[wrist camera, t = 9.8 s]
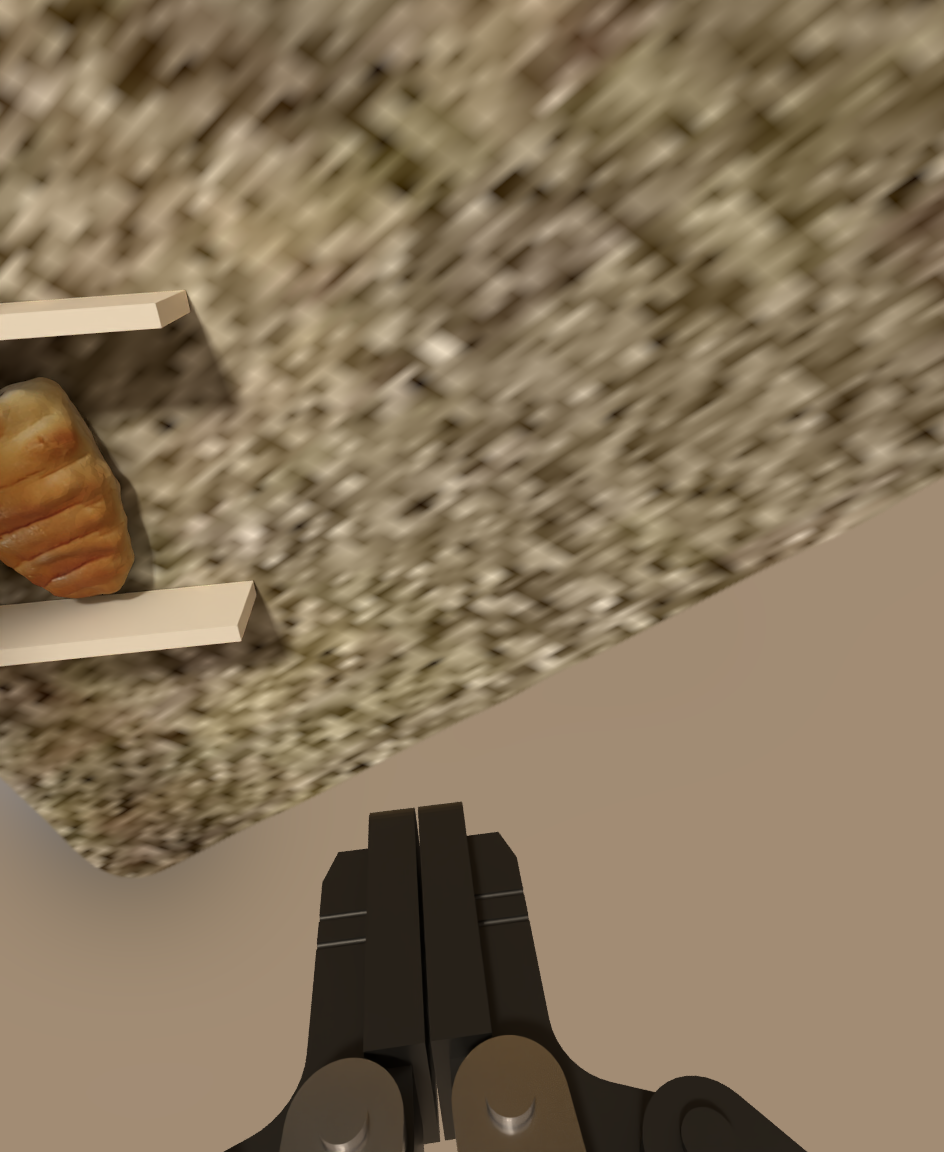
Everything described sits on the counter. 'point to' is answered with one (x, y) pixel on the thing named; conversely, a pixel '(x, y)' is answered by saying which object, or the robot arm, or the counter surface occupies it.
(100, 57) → the counter surface
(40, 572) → the pastry
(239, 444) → the counter surface
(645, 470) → the counter surface
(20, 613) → the bin
